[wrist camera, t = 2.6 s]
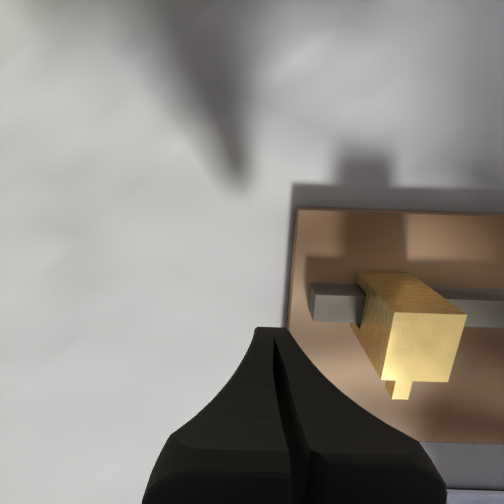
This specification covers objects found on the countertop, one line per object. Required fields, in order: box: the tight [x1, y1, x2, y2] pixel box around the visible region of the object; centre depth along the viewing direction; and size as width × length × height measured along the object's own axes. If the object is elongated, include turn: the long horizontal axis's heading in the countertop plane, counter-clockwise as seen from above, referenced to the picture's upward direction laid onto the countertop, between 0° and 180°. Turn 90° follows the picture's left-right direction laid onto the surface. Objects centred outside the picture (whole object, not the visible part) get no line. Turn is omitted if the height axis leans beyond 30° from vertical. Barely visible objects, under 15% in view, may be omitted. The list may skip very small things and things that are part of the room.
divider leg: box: [349, 272, 467, 400], centre depth 15 cm, size 5×3×5 cm, turn 178°
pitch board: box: [287, 207, 504, 444], centre depth 16 cm, size 16×21×7 cm
